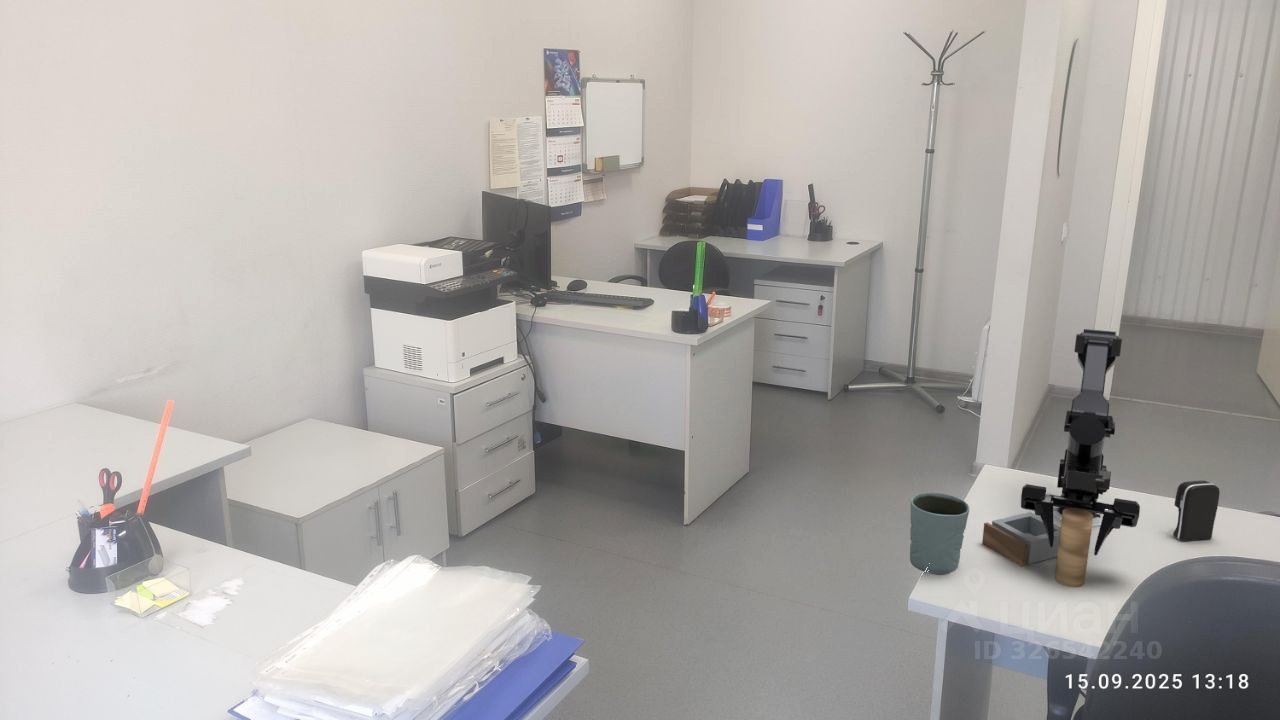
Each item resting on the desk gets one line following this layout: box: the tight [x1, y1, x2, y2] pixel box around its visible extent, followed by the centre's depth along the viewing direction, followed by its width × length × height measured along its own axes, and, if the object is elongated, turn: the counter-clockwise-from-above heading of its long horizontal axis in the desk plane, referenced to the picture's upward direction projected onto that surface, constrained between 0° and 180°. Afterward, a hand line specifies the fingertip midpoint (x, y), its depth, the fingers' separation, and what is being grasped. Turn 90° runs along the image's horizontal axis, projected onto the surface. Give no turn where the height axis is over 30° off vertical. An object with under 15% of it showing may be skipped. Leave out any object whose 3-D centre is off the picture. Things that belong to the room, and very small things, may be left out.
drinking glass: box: [909, 492, 970, 575], centre depth 163 cm, size 10×10×12 cm
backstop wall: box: [981, 522, 1028, 568], centre depth 166 cm, size 1×10×4 cm, turn 23°
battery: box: [1173, 480, 1221, 542], centre depth 172 cm, size 7×4×11 cm, turn 98°
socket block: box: [991, 511, 1061, 565], centre depth 168 cm, size 10×10×4 cm
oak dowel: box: [1054, 508, 1093, 588], centre depth 156 cm, size 5×5×13 cm
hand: (1073, 550), depth 154 cm, fingers open, 7 cm apart
